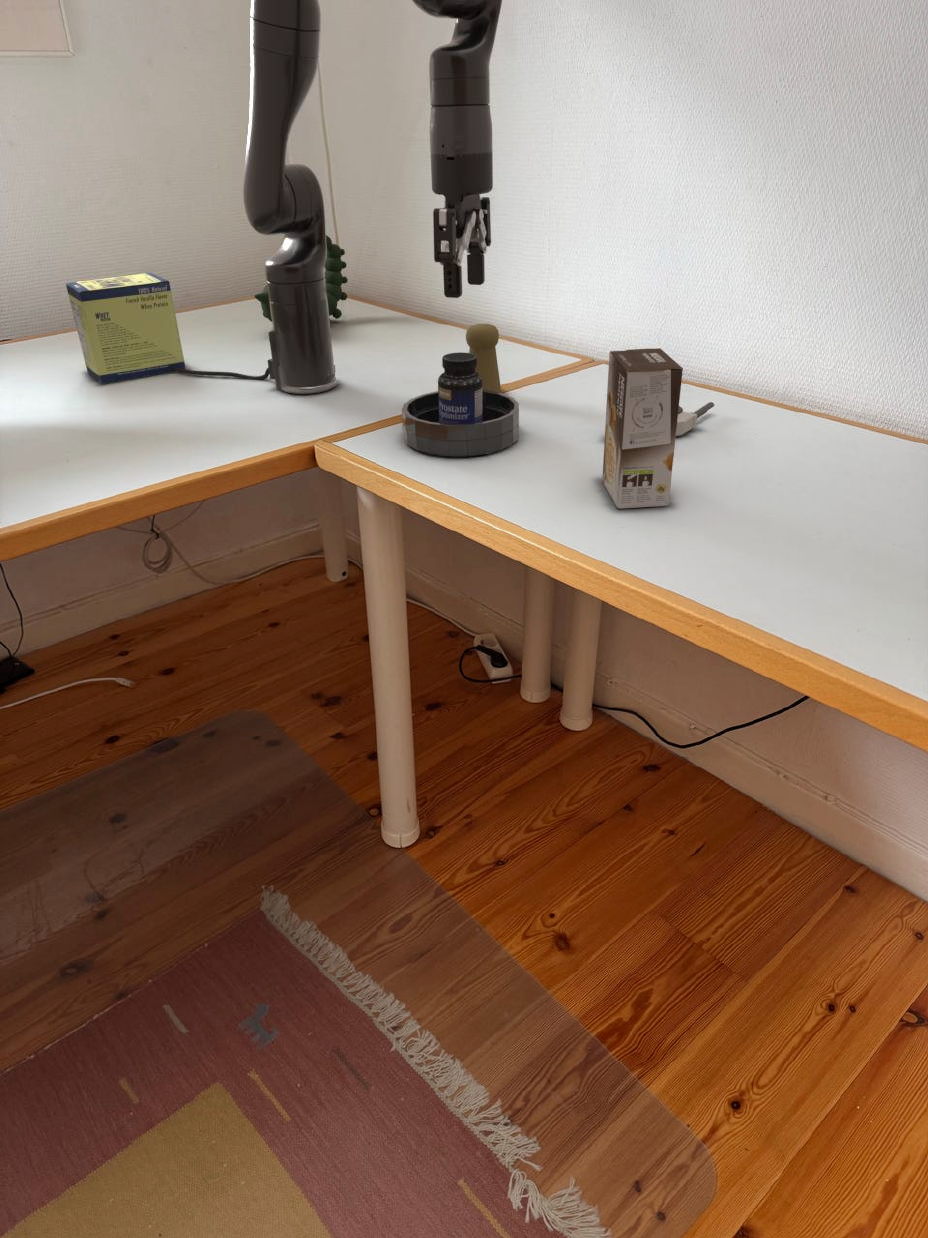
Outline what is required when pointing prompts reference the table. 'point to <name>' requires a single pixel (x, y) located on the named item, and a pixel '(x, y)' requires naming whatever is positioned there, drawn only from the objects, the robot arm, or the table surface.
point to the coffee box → (640, 426)
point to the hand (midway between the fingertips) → (465, 290)
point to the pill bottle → (460, 390)
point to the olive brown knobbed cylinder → (485, 354)
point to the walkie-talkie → (690, 418)
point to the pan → (461, 427)
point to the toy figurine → (331, 279)
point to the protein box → (126, 326)
